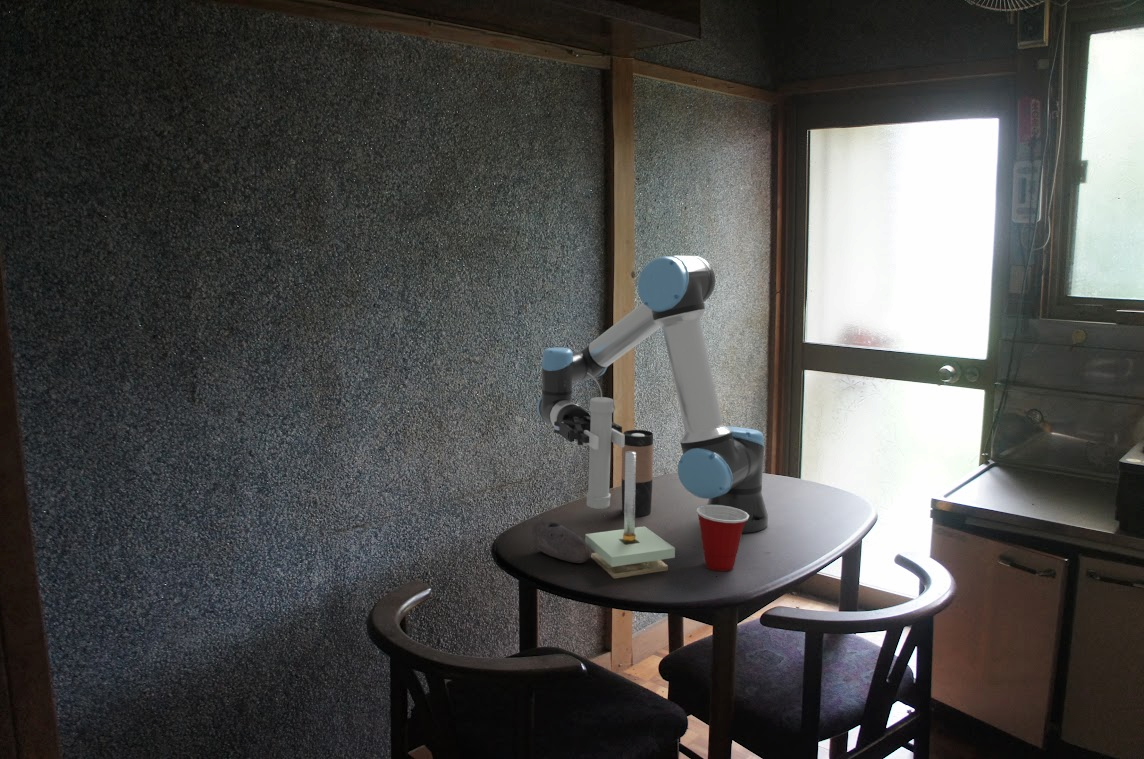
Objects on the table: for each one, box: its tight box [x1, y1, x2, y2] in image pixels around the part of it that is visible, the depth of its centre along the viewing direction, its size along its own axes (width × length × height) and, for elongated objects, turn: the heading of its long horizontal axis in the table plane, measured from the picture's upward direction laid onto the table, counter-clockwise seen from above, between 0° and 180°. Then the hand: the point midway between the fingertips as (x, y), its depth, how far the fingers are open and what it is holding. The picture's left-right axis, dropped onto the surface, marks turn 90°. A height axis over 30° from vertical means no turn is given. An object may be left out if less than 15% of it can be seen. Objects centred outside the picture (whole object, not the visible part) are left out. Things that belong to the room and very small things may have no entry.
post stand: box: [590, 451, 669, 579], centre depth 177 cm, size 12×12×24 cm
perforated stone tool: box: [531, 519, 590, 564], centre depth 181 cm, size 15×5×7 cm, turn 44°
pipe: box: [585, 372, 615, 510], centre depth 188 cm, size 6×6×30 cm
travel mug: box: [621, 429, 654, 517], centre depth 210 cm, size 8×8×20 cm
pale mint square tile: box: [584, 526, 676, 567], centre depth 178 cm, size 14×14×2 cm
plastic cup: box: [695, 504, 749, 572], centre depth 177 cm, size 11×11×12 cm
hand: (609, 442), depth 183 cm, fingers closed on pipe, 5 cm apart
